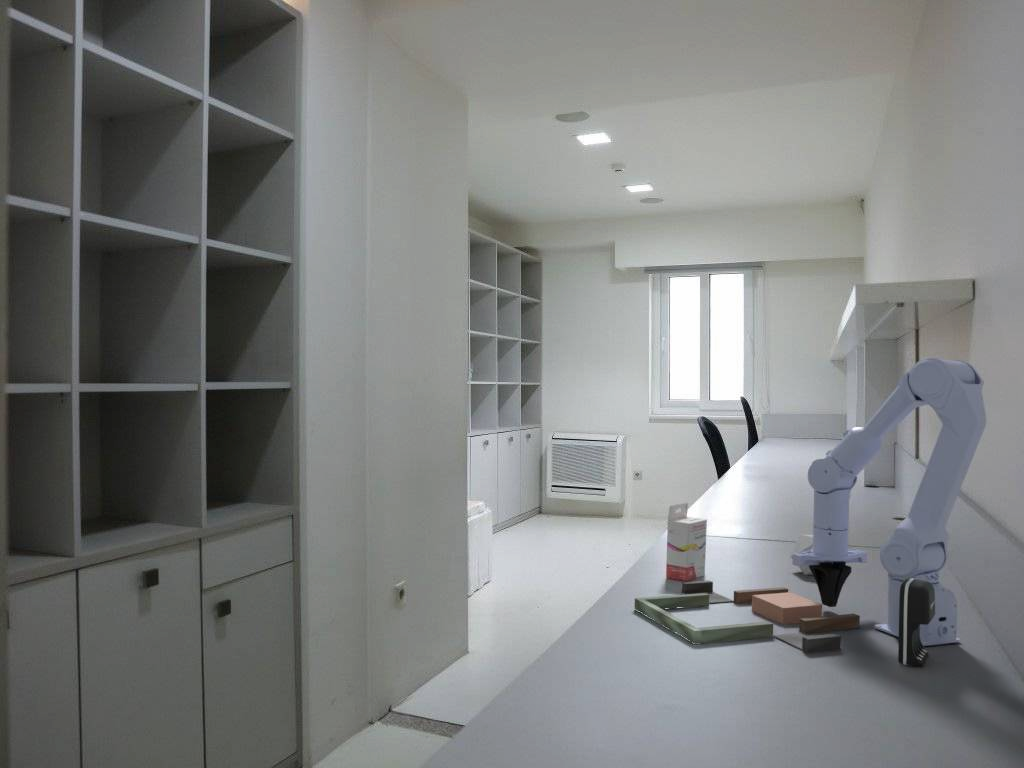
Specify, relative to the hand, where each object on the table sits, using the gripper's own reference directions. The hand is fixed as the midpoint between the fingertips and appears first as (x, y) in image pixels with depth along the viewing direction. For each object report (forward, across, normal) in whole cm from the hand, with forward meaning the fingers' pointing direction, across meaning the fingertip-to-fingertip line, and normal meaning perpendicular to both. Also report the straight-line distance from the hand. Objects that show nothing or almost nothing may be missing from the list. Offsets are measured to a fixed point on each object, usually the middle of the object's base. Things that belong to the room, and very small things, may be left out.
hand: (829, 605), depth 133 cm
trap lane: (+1, +18, 0) cm, 18 cm away
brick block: (+1, +9, 0) cm, 9 cm away
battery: (+1, +6, +24) cm, 25 cm away
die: (+1, -18, -24) cm, 30 cm away
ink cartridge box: (+1, +11, -28) cm, 30 cm away
